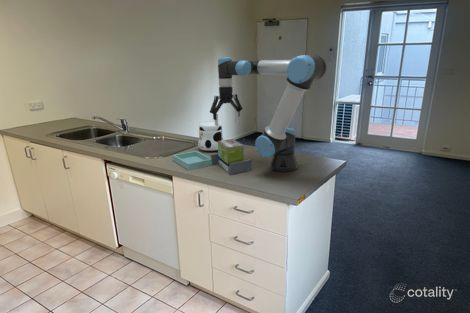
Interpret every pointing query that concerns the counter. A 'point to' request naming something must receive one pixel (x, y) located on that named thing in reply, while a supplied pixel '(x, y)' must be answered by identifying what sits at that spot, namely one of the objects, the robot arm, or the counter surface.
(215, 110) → the robot arm
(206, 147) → the milk container
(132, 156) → the counter surface
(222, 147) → the tea box
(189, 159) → the tray
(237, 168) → the dock
